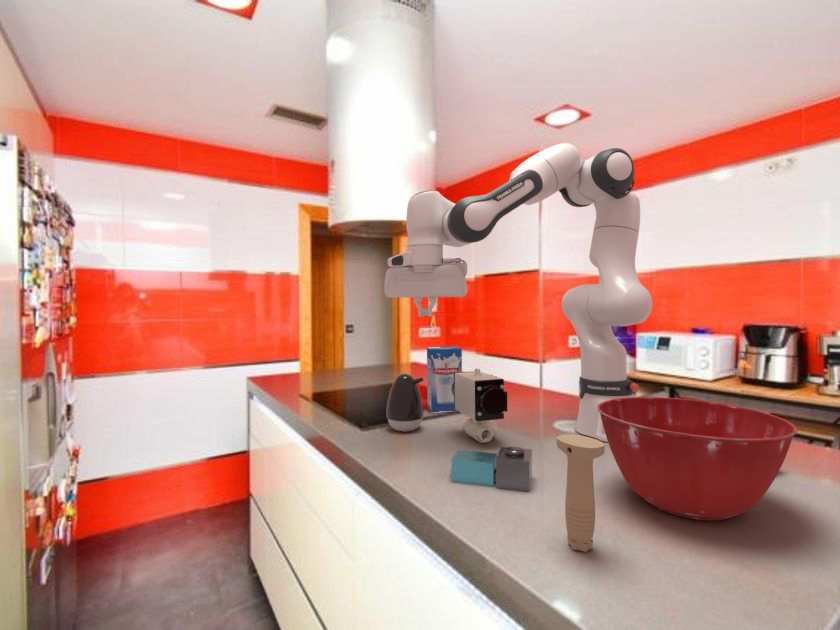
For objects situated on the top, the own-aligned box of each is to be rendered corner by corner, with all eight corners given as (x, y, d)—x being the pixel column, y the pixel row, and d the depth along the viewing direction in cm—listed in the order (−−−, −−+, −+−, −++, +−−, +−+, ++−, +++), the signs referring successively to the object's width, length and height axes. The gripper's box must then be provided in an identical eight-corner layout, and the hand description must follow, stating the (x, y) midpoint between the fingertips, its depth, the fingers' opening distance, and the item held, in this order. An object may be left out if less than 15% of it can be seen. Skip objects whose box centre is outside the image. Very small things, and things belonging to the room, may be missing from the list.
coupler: (446, 482, 85) (446, 449, 85) (454, 468, 92) (454, 438, 92) (529, 491, 81) (529, 457, 80) (531, 477, 87) (531, 445, 87)
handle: (590, 563, 58) (590, 450, 58) (550, 542, 64) (550, 438, 63) (610, 551, 61) (611, 443, 61) (571, 531, 67) (571, 432, 66)
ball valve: (513, 447, 105) (513, 372, 104) (481, 452, 102) (480, 375, 102) (479, 427, 122) (478, 363, 121) (450, 431, 119) (450, 365, 119)
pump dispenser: (417, 436, 115) (417, 377, 114) (380, 432, 118) (379, 375, 118) (429, 425, 124) (428, 371, 124) (394, 422, 128) (394, 370, 127)
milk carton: (431, 413, 138) (430, 349, 137) (427, 409, 144) (426, 347, 143) (462, 411, 140) (462, 348, 139) (456, 407, 146) (456, 346, 145)
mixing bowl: (652, 460, 96) (652, 389, 95) (824, 513, 72) (826, 418, 71) (564, 492, 81) (564, 407, 80) (746, 571, 56) (747, 451, 56)
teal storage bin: (451, 481, 86) (451, 458, 86) (458, 471, 91) (457, 449, 91) (493, 486, 83) (493, 463, 83) (497, 475, 88) (497, 453, 88)
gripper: (469, 258, 108) (470, 316, 108) (390, 261, 114) (391, 315, 114) (464, 256, 102) (464, 316, 102) (381, 259, 108) (382, 316, 108)
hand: (425, 316), depth 108 cm, fingers closed
